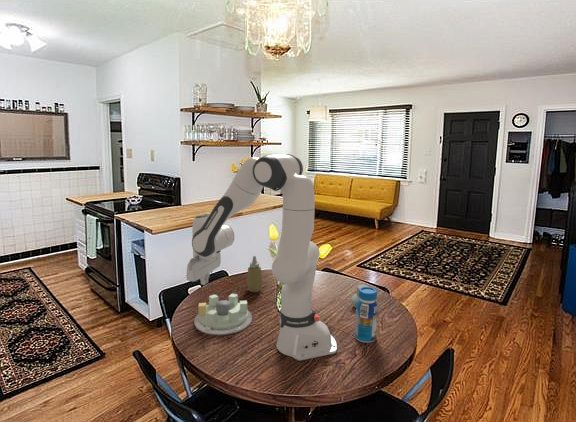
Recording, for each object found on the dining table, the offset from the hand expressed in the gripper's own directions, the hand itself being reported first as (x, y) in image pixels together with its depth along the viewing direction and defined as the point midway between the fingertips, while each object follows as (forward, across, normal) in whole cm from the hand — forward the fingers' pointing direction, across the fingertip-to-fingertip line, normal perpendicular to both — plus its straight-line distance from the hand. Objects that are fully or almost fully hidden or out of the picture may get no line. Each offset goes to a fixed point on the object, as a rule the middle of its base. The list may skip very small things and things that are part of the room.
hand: (204, 283), depth 156 cm
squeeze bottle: (+15, +32, -8) cm, 37 cm away
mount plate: (+15, 0, -9) cm, 17 cm away
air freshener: (+14, +35, -62) cm, 72 cm away
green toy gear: (+13, 0, -9) cm, 16 cm away
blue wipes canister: (+14, +9, -67) cm, 69 cm away
